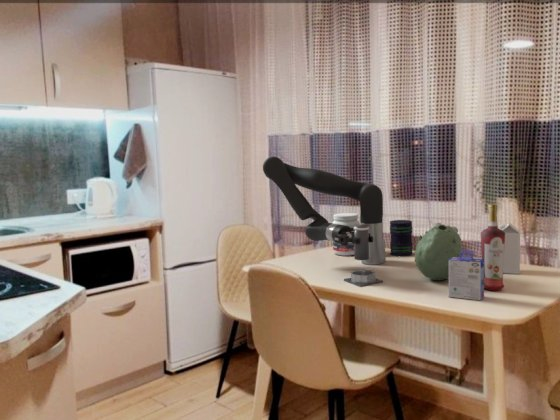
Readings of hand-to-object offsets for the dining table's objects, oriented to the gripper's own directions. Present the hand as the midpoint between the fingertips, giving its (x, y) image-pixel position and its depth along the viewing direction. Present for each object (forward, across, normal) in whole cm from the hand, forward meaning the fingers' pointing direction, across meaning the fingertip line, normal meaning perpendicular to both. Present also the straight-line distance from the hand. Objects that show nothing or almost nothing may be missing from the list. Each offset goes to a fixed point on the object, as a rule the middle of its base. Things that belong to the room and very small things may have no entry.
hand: (365, 240), depth 172 cm
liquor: (+31, +28, +15) cm, 44 cm away
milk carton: (+19, +51, +15) cm, 57 cm away
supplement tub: (-46, +23, +16) cm, 54 cm away
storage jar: (-29, +41, +16) cm, 53 cm away
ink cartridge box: (+32, +15, +15) cm, 38 cm away
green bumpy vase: (+12, +23, +16) cm, 30 cm away
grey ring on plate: (-2, 0, +16) cm, 16 cm away
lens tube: (-3, 0, +7) cm, 7 cm away
